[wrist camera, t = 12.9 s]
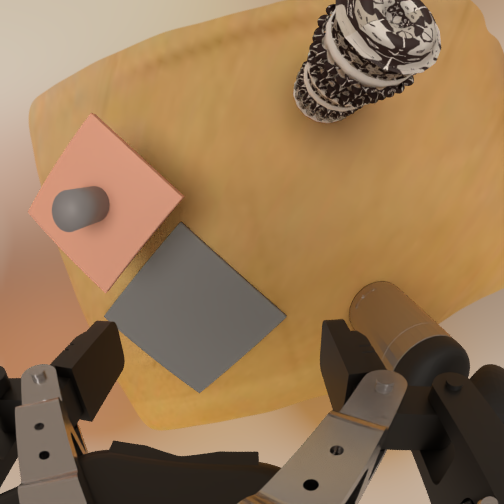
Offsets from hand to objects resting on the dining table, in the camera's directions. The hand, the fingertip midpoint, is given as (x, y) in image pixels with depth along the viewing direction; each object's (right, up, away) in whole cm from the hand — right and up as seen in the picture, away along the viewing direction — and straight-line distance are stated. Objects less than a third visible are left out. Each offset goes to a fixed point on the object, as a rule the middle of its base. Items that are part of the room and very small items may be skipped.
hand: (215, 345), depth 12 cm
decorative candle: (+11, +25, +27) cm, 38 cm away
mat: (-8, -6, +35) cm, 36 cm away
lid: (-14, +8, +18) cm, 24 cm away
